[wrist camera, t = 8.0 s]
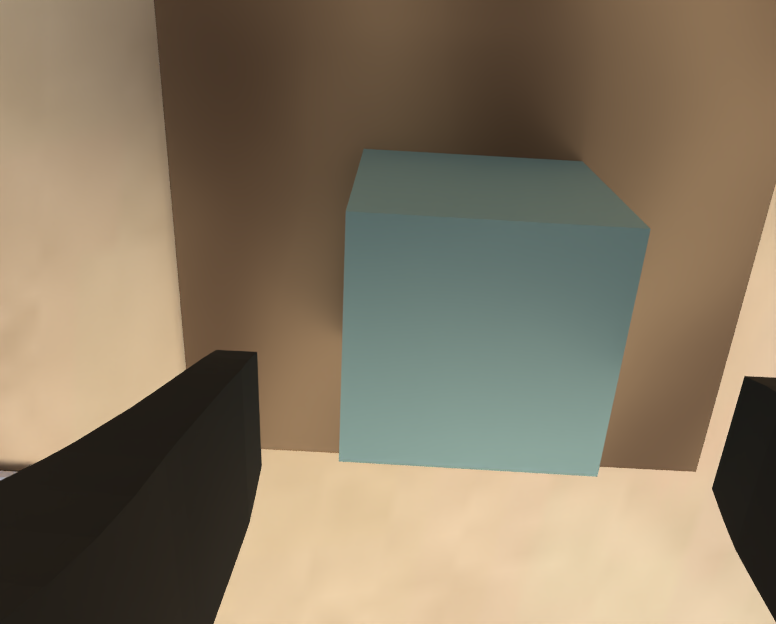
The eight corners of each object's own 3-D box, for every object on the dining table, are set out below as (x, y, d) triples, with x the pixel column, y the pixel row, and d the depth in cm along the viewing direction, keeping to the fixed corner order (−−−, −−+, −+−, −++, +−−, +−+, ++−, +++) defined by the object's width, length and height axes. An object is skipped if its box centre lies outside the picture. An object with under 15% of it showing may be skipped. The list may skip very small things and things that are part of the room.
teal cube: (356, 343, 18) (338, 461, 14) (363, 148, 16) (345, 211, 12) (550, 355, 18) (597, 476, 14) (582, 161, 16) (650, 228, 12)
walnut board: (204, 421, 21) (192, 445, 20) (169, -32, 16) (151, -34, 15) (680, 446, 21) (695, 471, 20) (797, -2, 16) (826, -2, 15)
